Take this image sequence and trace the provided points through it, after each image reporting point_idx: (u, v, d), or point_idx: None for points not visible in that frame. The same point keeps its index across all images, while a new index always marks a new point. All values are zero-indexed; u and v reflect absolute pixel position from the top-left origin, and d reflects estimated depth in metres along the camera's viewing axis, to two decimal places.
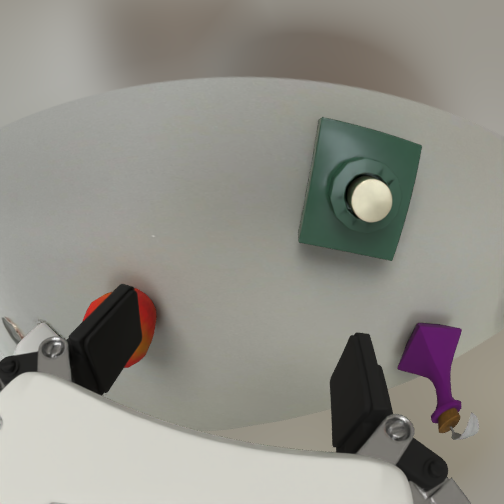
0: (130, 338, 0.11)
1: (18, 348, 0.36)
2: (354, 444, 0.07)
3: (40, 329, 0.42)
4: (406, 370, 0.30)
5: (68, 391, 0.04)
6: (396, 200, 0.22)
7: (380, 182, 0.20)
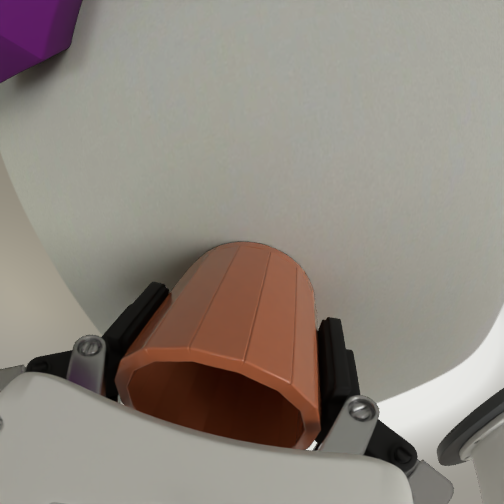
0: None
1: None
2: None
3: None
4: None
5: (68, 391, 0.04)
6: None
7: None
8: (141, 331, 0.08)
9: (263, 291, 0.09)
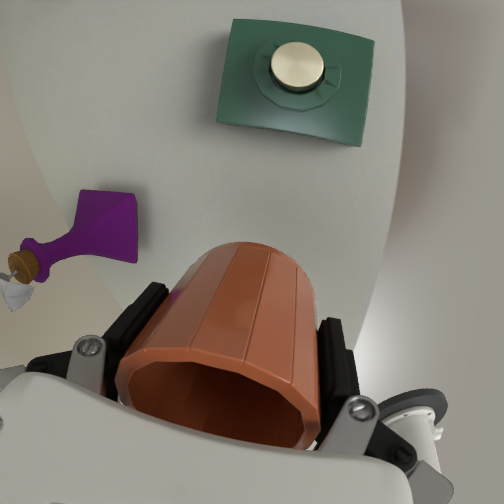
0: None
1: None
2: None
3: None
4: (79, 200, 0.24)
5: (68, 391, 0.04)
6: (296, 103, 0.18)
7: (320, 71, 0.15)
8: (141, 331, 0.08)
9: (263, 291, 0.09)
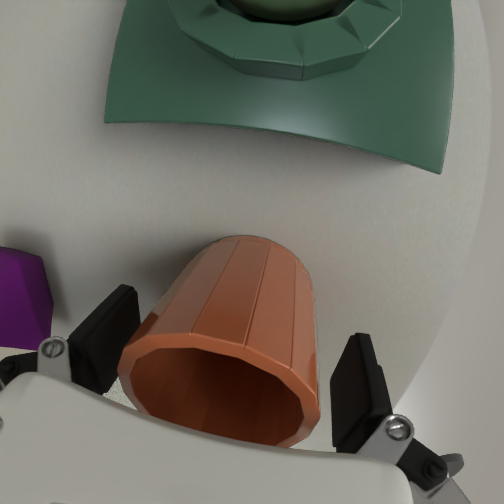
0: (130, 338, 0.11)
1: None
2: (354, 444, 0.07)
3: None
4: None
5: (68, 391, 0.04)
6: (282, 48, 0.05)
7: None
8: None
9: (263, 281, 0.09)
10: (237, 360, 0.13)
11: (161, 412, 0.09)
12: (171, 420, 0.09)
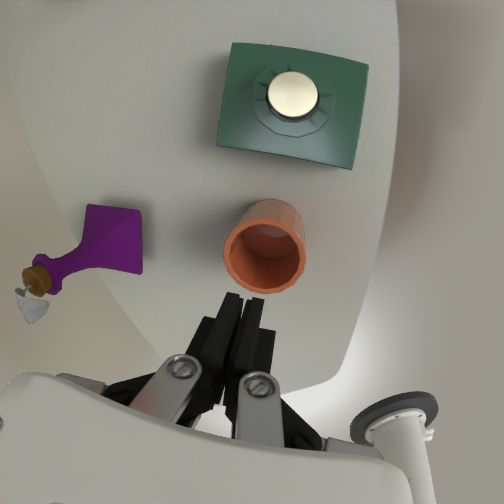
0: None
1: None
2: (227, 399, 0.08)
3: None
4: (86, 214, 0.26)
5: (68, 391, 0.04)
6: (291, 131, 0.20)
7: (314, 101, 0.17)
8: (237, 224, 0.23)
9: (282, 210, 0.24)
10: (266, 262, 0.28)
11: (236, 271, 0.24)
12: (240, 276, 0.24)
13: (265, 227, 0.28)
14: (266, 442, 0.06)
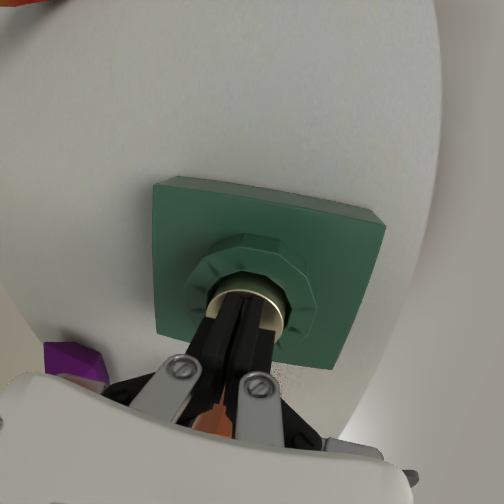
0: None
1: None
2: (227, 399, 0.08)
3: None
4: (44, 357, 0.21)
5: (68, 391, 0.04)
6: None
7: (278, 335, 0.12)
8: None
9: None
10: None
11: None
12: None
13: None
14: (266, 442, 0.06)
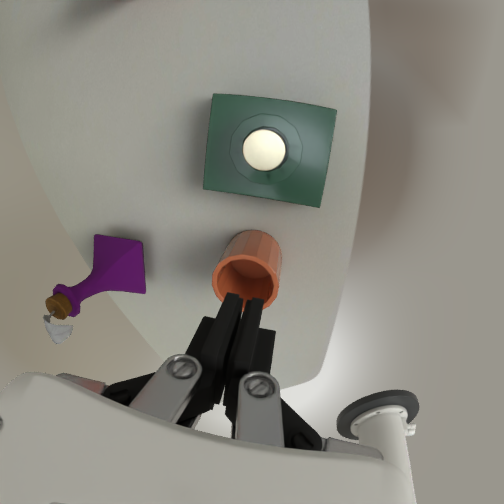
0: None
1: None
2: (227, 399, 0.08)
3: None
4: (94, 244, 0.31)
5: (68, 391, 0.04)
6: (264, 179, 0.25)
7: (282, 156, 0.22)
8: (222, 257, 0.28)
9: (260, 244, 0.29)
10: (250, 283, 0.33)
11: (223, 295, 0.29)
12: None
13: None
14: (266, 442, 0.06)
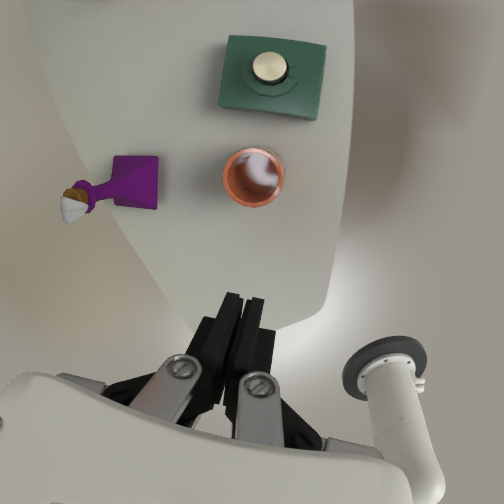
0: None
1: None
2: (227, 399, 0.08)
3: None
4: (114, 162, 0.34)
5: (68, 391, 0.04)
6: (270, 91, 0.27)
7: (284, 70, 0.25)
8: None
9: (266, 148, 0.31)
10: (256, 193, 0.35)
11: (232, 191, 0.31)
12: (235, 194, 0.31)
13: (255, 167, 0.35)
14: (266, 442, 0.06)
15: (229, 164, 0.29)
